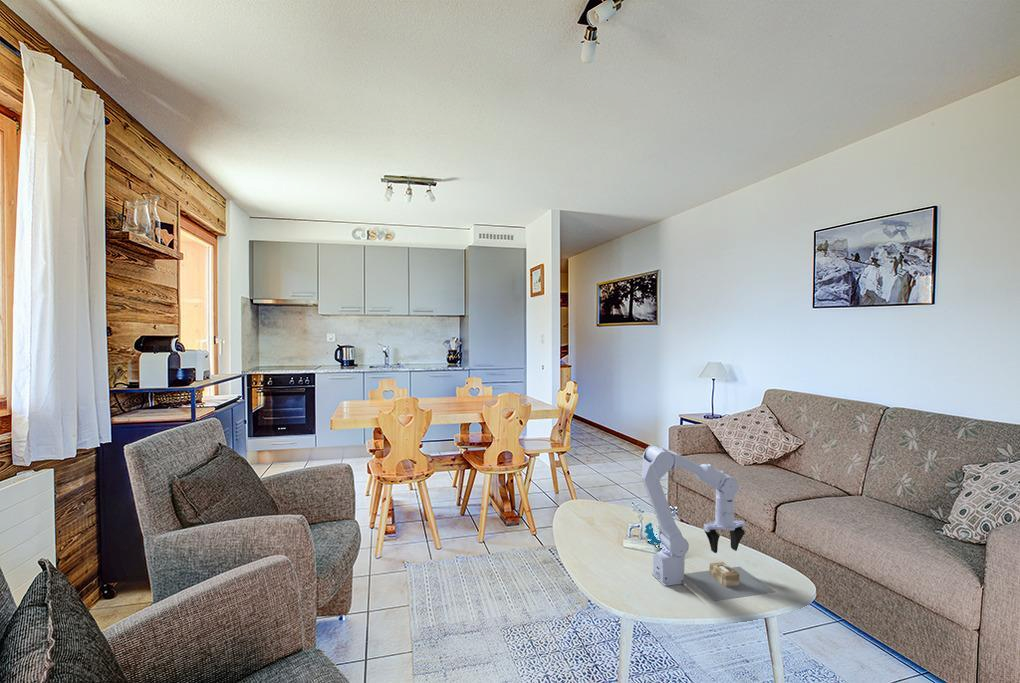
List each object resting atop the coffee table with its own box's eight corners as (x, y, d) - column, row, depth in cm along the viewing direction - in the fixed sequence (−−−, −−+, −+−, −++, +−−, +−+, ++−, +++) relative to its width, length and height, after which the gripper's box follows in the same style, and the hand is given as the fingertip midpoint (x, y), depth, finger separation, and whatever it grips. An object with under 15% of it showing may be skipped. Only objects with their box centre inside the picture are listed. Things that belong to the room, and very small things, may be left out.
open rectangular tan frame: (709, 574, 157) (709, 563, 157) (722, 572, 158) (722, 561, 158) (725, 586, 149) (725, 575, 149) (739, 585, 151) (739, 573, 150)
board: (714, 604, 142) (715, 589, 142) (683, 576, 157) (683, 563, 157) (776, 595, 147) (776, 580, 147) (739, 569, 162) (739, 556, 162)
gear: (655, 549, 173) (642, 522, 180) (645, 555, 177) (632, 530, 183) (674, 545, 179) (661, 520, 186) (664, 552, 183) (651, 527, 189)
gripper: (713, 517, 152) (712, 558, 153) (752, 513, 155) (751, 553, 156) (699, 508, 159) (699, 548, 159) (737, 505, 162) (736, 544, 163)
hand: (724, 550), depth 158 cm, fingers open, 7 cm apart
